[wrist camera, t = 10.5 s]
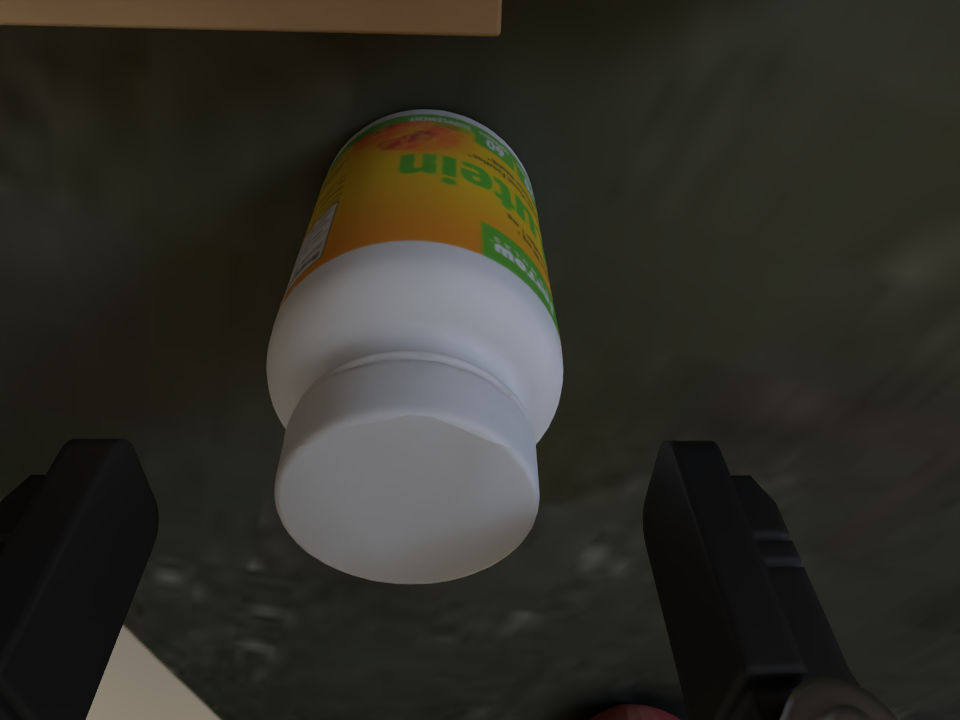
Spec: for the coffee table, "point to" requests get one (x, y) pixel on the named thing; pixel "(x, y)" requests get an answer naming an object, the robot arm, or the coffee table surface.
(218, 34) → the coffee table surface
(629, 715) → the fruit
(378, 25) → the brush
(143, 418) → the coffee table surface
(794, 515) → the coffee table surface
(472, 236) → the supplement bottle
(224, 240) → the coffee table surface
